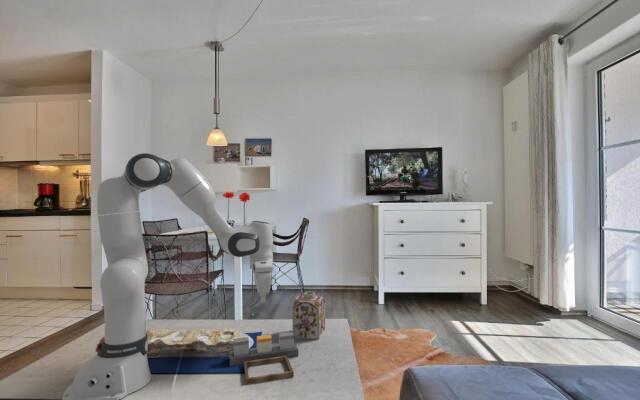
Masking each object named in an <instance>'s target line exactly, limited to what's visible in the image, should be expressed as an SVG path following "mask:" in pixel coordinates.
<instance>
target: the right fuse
mask: <svg viewBox="0 0 640 400" xmlns="http://www.w3.org/2000/svg"><path fill="white" fill-rule="evenodd" d="M294 343H295V337H294V334H293V331H287V332H282V333H278V345H279V350H288V349H294Z"/></svg>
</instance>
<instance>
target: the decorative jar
mask: <svg viewBox="0 0 640 400" xmlns="http://www.w3.org/2000/svg"><path fill="white" fill-rule="evenodd" d="M324 331H326V301H325V299H324V297H323V296H321V295H318V294H316V292H314V291H305V292H304V293H303V294H301V295H298V296H296V297H295V299H294V302H293V304H292V332H293V334H294V338H297V339H298V338H300V339H308V340H310V339H311V340H320V338H321V337H322V335H323V334H324Z"/></svg>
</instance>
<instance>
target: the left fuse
mask: <svg viewBox="0 0 640 400" xmlns="http://www.w3.org/2000/svg"><path fill="white" fill-rule="evenodd" d="M249 347H250V340H249V337H240V338H233V351H234V357H235V356H243V355H249V349H250V348H249Z"/></svg>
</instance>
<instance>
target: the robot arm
mask: <svg viewBox="0 0 640 400" xmlns="http://www.w3.org/2000/svg"><path fill="white" fill-rule="evenodd" d="M159 186H165V187H167V188H169V190H171V191H172V192H173V193H174V195H175V196H176V197H177V198H178V199H179V200H180V202H181V203H183V204H184V205H185V206H186V207H187V208H188V209H189V210H190V211H191V212H193V213H194V214H195V215H197V216H199V217H200V218H201V219H202V220H203V221H204V223H205V224H206V225H207V226H208V227H209V229H210V230H211V231H212V233H213V234H214V235H215V236H216V240H217V243H218V246H219V249H220V250H221V251H222V252H223V253H224V254H227V255H231V256H233V257H236V258H241V257H242V258H243V257H246V256H249V269H251V270H252V273H253V281H254V284H255V286H256V290H257V294H256V295H257V297H259V299H260V300H259V301H260V304H266V301H267V300H266V299H267V294H270V290H271V283H272V272H273V271H274V253H273V245H274V236H273V234H274V233H273V227H272V225H271V224H270V223H269V222H266V221H259V220H253V221H251V222H250V223H249V224H247V225H246V226H244V227H242V228H240V229H237V228H234V227H233V226H231V225H230V224H229V223H228V222H227V220H226V219H225V217H224V216H222V214H221V213H220V212H219V210H218V208H217V204H216V198H217V197H216V195H217V194H216V193H215V190H214V189H213V187H212V184H211V183H209V181H208V180H207V179H206V178H205V177H204V175H203V174H202V173H201V172H200V171H199V170H198V169H197V168H196V167H195V166H194V165H193V164H192V163H191V162H190V161H188V160H187V159H186V158H183V157H179V158H174V159H171V160H170V161H168V160H166V159H165V158H163V157H160V156H157V155H154V154H151V153H144V152H143V153H138V154H136V155H133V156H132V157H130V159H129V160H128V162H127V163H126V165H125V169H124V171H123V174H122V175H121V176H118V177H111V178H107V179H105V180H103V181H101V182H100V184H99V185H98V190H97V197H96V199H97V200H96V205H97V207H96V209H97V217H98V218H97V221H98V229H99V235H100V237H99V238H100V243H101V245H102V248H103V249H104V250H103V251H104V254H105V258H106V262H107V267H106V268H105V269H104V270H103V272H102V273H101V275H100V276H101V277H100V283H99V285H100V291H101V300H102V306H103V314H104V336H103V337H101V339H99V342H98V343H97V345H96V347H95V353H96V354H95V355H93V356H92V357H91V358H90V359H89V360H87V361H86V362H85V363H83V364H82V365H81V367H79V369H78V370H77V371H76V373H75V375H74V378H73V381H72V383H71V384H69V385H68V387H67V388H66V389H65V390H64V392H63V394H62V396H61V400H119V399H120V400H121V398H122V399H123V398H125V397H126V396H128V395H130V394H131V393H135V392H136V391H139V390H141V389H142V388H144V387H145V386H147V385H148V384H149V383H150V382H151V380H152V373H151V370H150V367H149V362H148V351H149V338H148V333H147V307H146V295H145V283H146V279H147V277H148V274H149V265H148V258H147V253H146V248H145V247H146V246H145V242H144V236H143V231H142V230H143V229H142V221H141V212H140V204H139V197H140V194H141V193H143V192H145V191H148V190H153V189H155V188H157V187H159Z"/></svg>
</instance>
